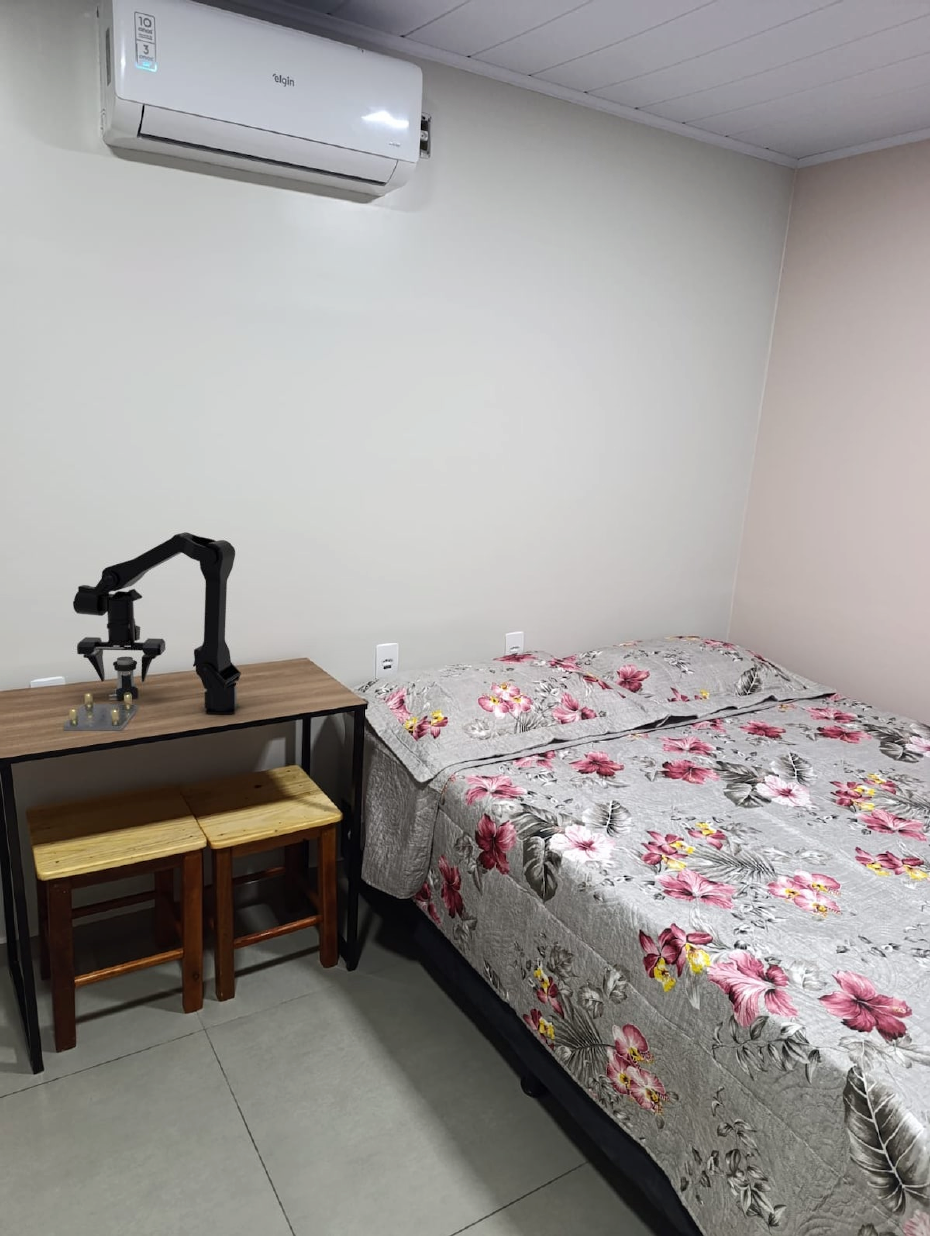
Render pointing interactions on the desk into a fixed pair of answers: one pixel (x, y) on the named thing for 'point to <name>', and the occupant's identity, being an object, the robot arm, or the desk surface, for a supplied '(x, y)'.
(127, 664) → the push button
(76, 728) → the chassis
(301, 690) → the desk surface
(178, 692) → the desk surface
